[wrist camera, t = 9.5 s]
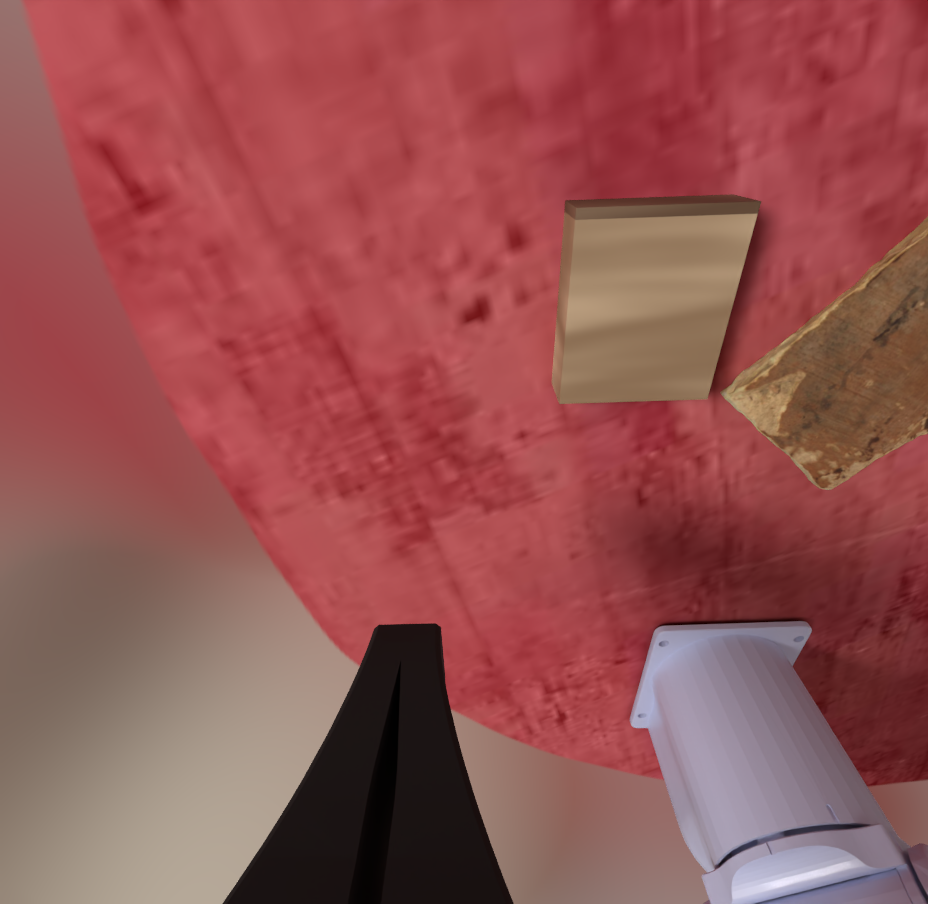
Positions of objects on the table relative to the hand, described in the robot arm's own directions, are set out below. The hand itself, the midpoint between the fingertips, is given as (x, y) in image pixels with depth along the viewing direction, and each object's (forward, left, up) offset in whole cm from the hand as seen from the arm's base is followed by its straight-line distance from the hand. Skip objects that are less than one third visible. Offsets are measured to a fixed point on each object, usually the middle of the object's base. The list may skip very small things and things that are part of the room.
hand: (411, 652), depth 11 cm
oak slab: (+2, -7, -9) cm, 12 cm away
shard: (+3, -15, -11) cm, 18 cm away
